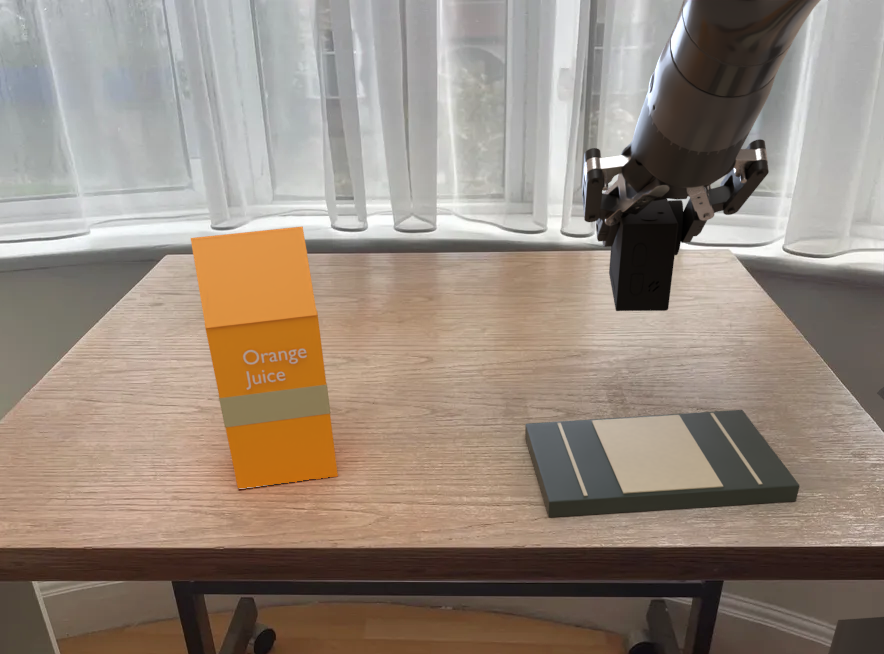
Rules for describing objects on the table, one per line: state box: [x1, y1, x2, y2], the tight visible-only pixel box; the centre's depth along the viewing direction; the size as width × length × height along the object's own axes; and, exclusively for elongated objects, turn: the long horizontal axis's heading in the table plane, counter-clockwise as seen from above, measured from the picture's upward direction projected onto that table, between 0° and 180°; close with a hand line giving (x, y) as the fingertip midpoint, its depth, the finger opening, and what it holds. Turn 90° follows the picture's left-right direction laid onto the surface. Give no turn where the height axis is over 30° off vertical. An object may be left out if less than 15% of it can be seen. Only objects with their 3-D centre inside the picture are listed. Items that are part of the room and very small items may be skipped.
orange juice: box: [190, 225, 339, 489], centre depth 75 cm, size 8×9×20 cm
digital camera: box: [608, 198, 684, 312], centre depth 76 cm, size 10×5×7 cm, turn 174°
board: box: [524, 409, 800, 518], centre depth 77 cm, size 20×14×2 cm
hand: (645, 234), depth 77 cm, fingers closed on digital camera, 6 cm apart
